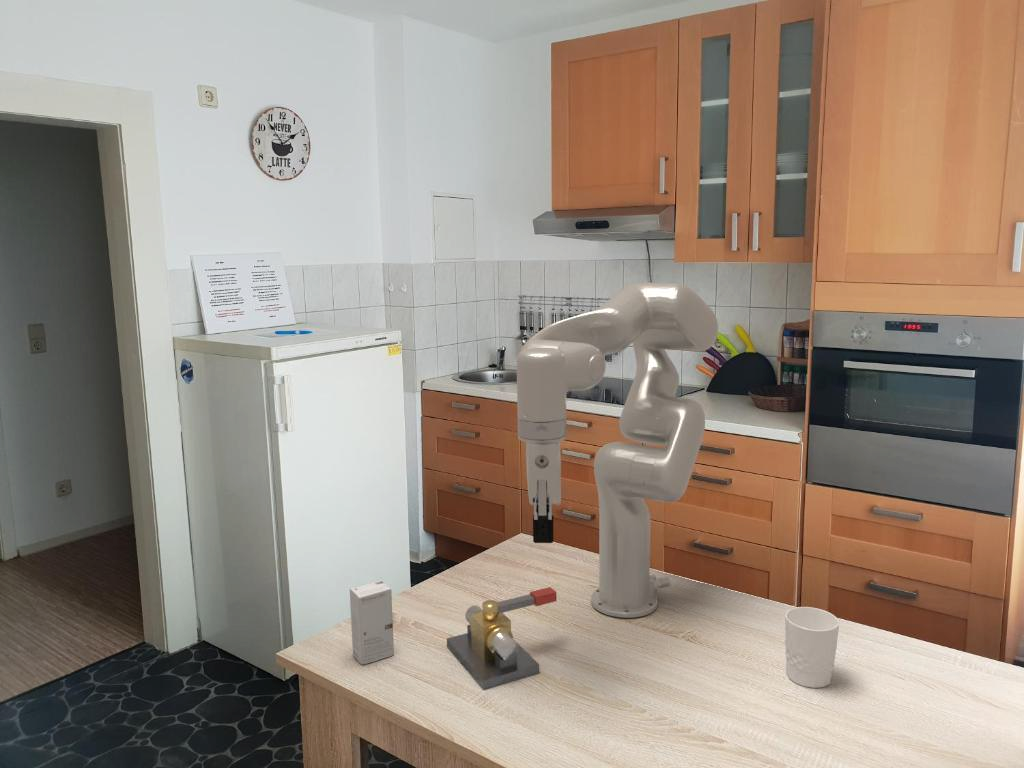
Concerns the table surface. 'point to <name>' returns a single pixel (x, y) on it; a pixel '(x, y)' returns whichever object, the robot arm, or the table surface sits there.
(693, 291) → the robot arm
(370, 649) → the skincare box
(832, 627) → the white cup
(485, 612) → the valve lever
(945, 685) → the table surface
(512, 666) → the valve manifold
